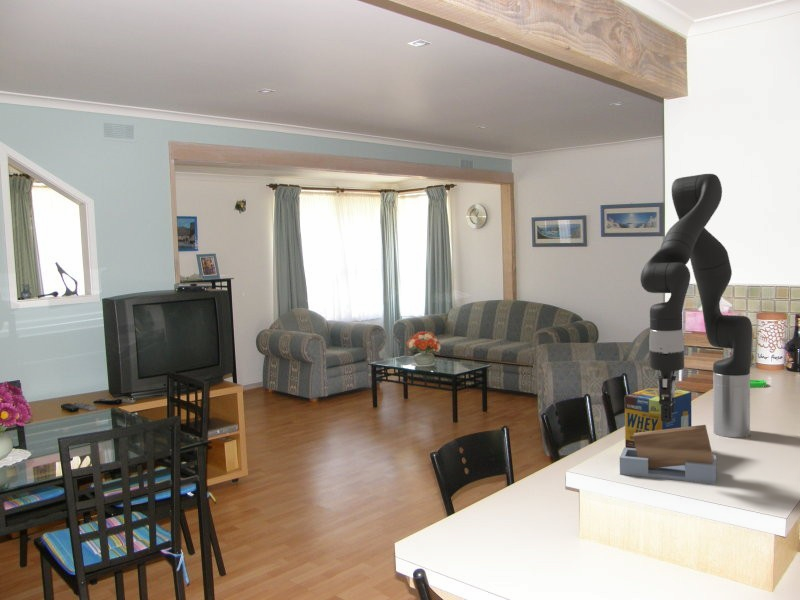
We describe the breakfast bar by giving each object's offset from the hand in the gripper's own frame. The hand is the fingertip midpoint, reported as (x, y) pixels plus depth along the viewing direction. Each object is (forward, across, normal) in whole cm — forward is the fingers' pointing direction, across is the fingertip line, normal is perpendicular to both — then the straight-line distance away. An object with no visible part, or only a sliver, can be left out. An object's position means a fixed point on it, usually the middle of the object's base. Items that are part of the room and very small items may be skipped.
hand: (667, 416), depth 158 cm
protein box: (+14, -17, -3) cm, 22 cm away
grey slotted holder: (+13, 0, 0) cm, 13 cm away
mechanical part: (+15, -108, +20) cm, 111 cm away
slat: (+11, 0, +2) cm, 11 cm away
